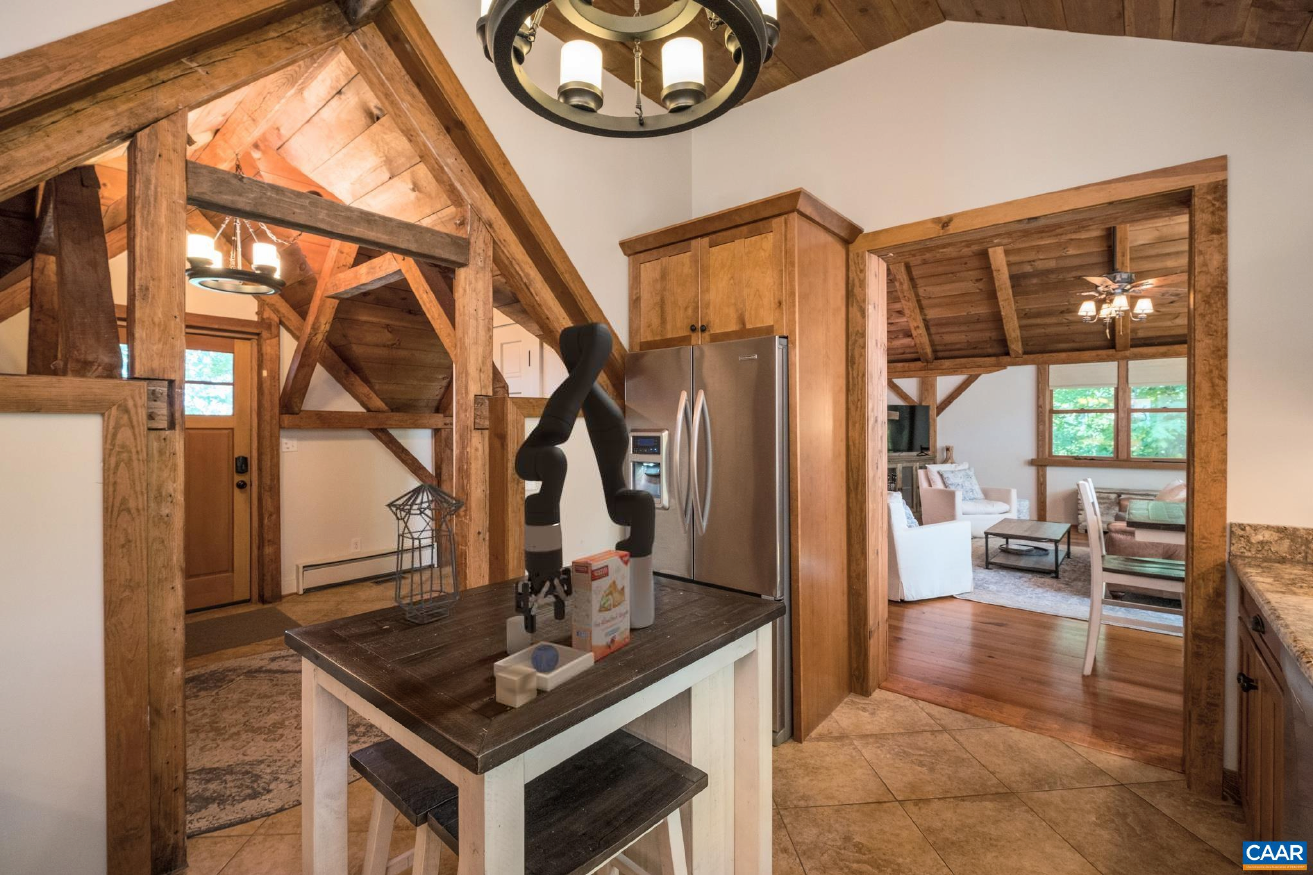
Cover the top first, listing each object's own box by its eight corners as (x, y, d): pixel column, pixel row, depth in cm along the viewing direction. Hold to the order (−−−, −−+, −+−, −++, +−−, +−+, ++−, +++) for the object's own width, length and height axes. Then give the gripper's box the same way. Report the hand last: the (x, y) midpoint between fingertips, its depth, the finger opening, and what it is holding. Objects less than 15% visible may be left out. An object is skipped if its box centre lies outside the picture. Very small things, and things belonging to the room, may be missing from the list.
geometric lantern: (384, 618, 152) (381, 484, 152) (441, 604, 164) (438, 479, 163) (413, 631, 142) (411, 487, 141) (471, 615, 154) (469, 482, 153)
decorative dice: (530, 668, 117) (530, 648, 117) (546, 662, 120) (546, 643, 120) (543, 673, 115) (543, 653, 115) (559, 667, 118) (559, 647, 118)
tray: (542, 652, 127) (542, 640, 127) (594, 664, 120) (593, 652, 120) (493, 675, 115) (493, 663, 115) (548, 691, 108) (547, 678, 108)
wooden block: (516, 690, 109) (516, 664, 109) (536, 697, 106) (536, 669, 106) (496, 701, 104) (495, 673, 104) (516, 708, 102) (516, 679, 102)
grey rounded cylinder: (518, 645, 131) (518, 614, 131) (535, 649, 129) (534, 618, 129) (502, 653, 127) (501, 621, 127) (519, 657, 125) (518, 624, 125)
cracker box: (593, 664, 120) (592, 563, 120) (570, 659, 123) (569, 560, 123) (632, 643, 132) (630, 550, 132) (610, 638, 135) (609, 548, 135)
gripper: (532, 554, 109) (535, 640, 110) (580, 540, 121) (582, 618, 122) (503, 551, 113) (506, 634, 113) (552, 537, 125) (554, 612, 126)
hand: (545, 625), depth 118 cm, fingers open, 8 cm apart
